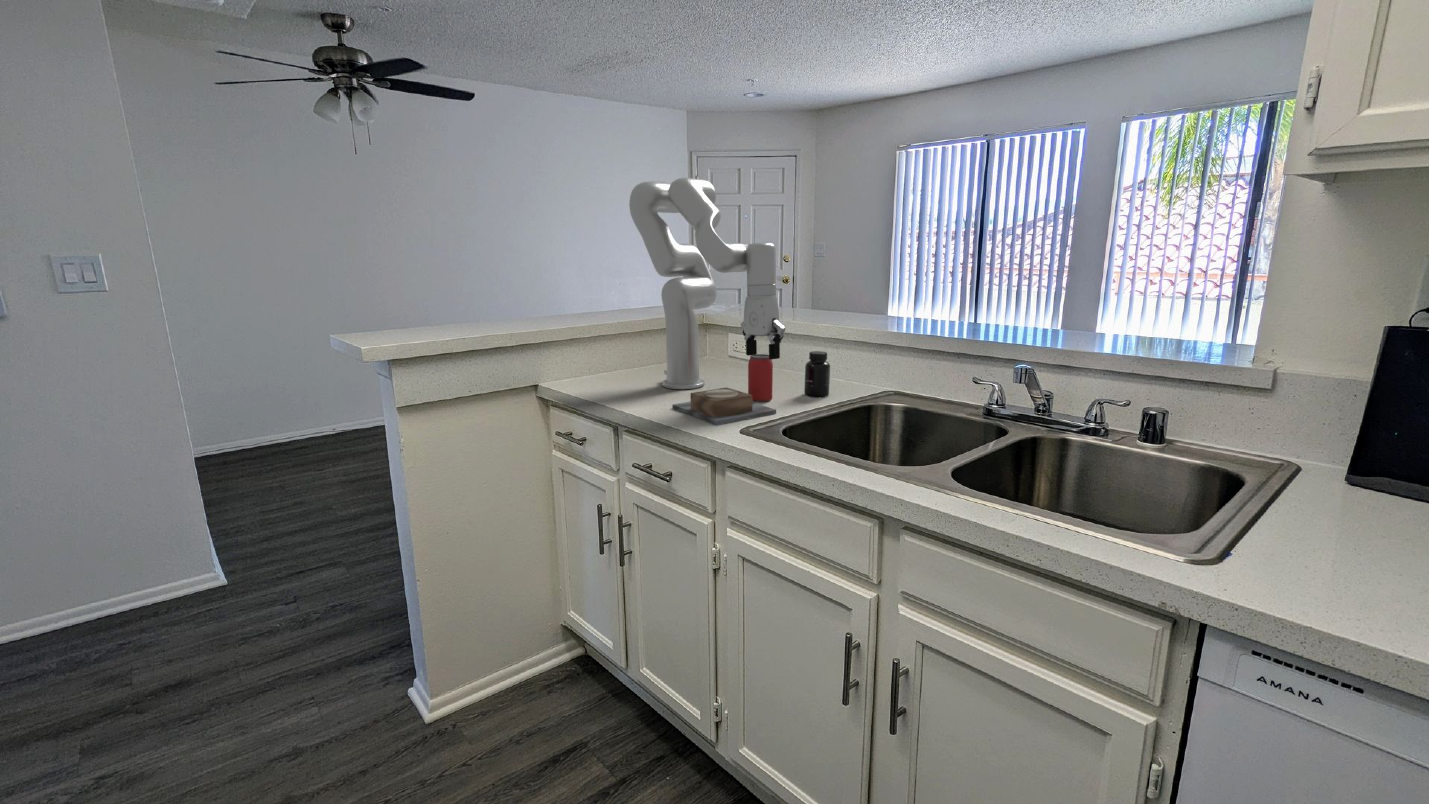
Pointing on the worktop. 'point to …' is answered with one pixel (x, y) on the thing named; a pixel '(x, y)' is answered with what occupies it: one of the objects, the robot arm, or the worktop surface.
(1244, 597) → the worktop surface
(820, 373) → the supplement bottle
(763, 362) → the beer can
